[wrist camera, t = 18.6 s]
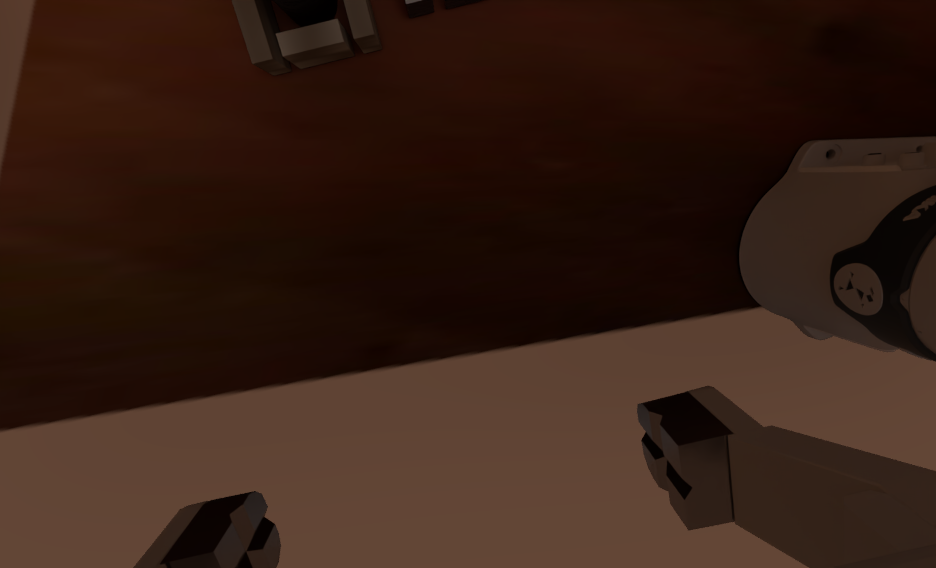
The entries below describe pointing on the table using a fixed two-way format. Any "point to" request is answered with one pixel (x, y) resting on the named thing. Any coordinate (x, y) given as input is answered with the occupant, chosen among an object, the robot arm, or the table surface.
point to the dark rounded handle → (309, 10)
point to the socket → (431, 6)
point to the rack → (303, 36)
